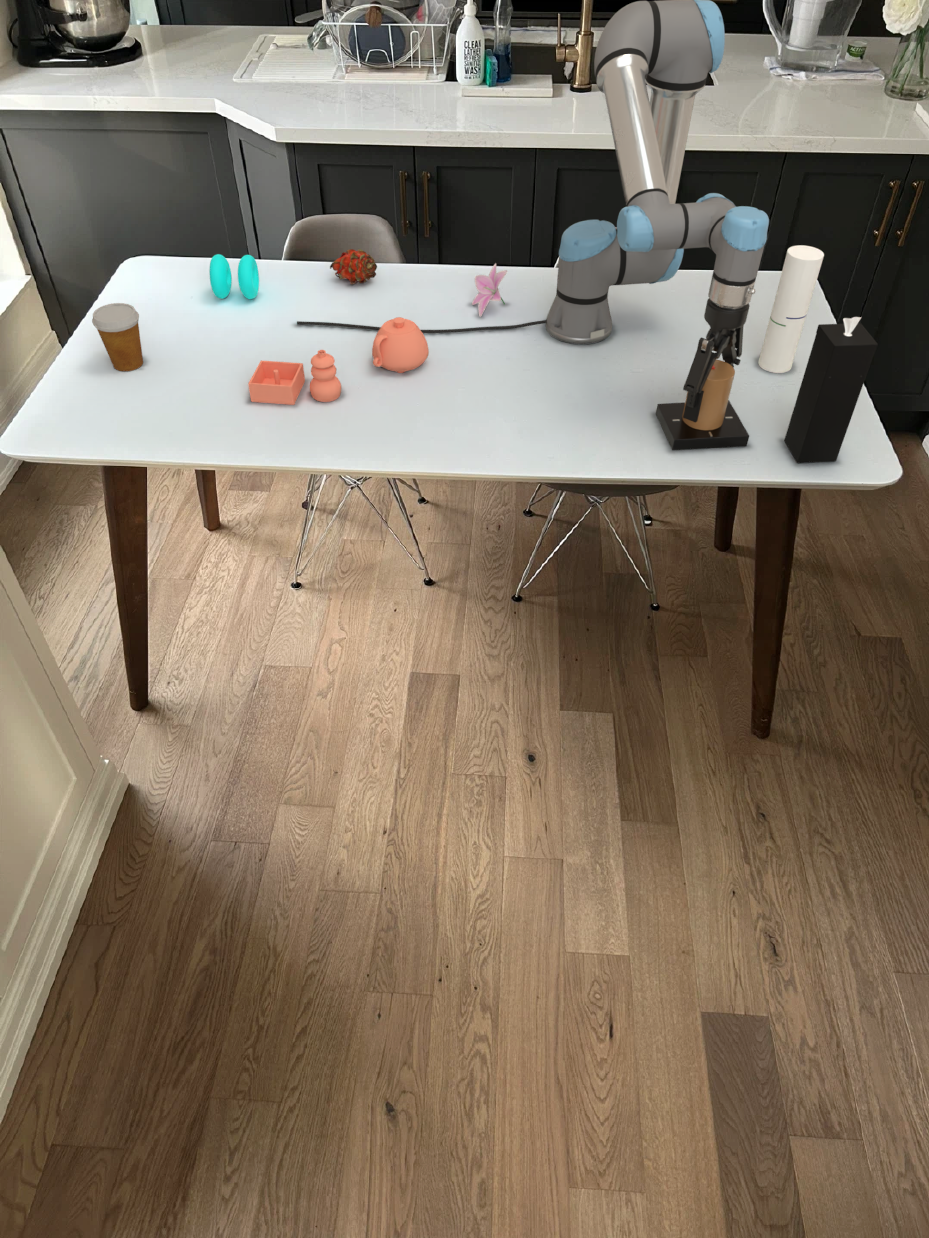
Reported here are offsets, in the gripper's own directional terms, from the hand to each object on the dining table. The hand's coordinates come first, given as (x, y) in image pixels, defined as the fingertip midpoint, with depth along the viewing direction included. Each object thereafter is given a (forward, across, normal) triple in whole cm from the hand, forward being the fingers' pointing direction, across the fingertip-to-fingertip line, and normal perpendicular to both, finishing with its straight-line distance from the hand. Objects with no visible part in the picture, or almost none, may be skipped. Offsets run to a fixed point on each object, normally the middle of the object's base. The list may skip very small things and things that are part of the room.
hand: (705, 406), depth 180 cm
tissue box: (+6, +7, -20) cm, 22 cm away
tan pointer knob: (+3, 0, 0) cm, 3 cm away
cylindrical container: (+6, +34, 0) cm, 34 cm away
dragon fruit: (+6, +4, +99) cm, 99 cm away
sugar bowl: (+6, -20, +64) cm, 67 cm away
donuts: (+6, -20, +115) cm, 117 cm away
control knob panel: (+5, 0, 0) cm, 5 cm away
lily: (+6, +14, +65) cm, 67 cm away
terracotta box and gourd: (+6, -42, +72) cm, 83 cm away
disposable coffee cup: (+6, -57, +109) cm, 123 cm away
